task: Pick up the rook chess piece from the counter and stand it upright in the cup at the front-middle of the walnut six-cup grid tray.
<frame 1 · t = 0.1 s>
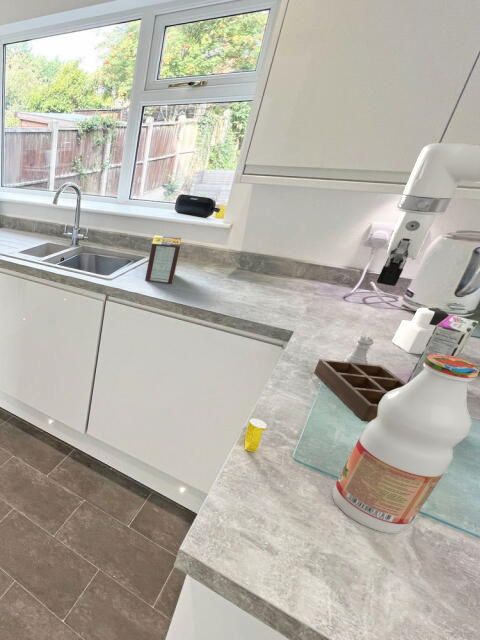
hand: (387, 279, 97), 24 cm above the table, tool pointing down, fingers open, 9 cm apart
medicine bottle: (413, 349, 117), on the table
grid: (368, 398, 95), on the table
candy bar box: (424, 383, 101), on the table
rook chess piece: (353, 365, 109), on the table
protein box: (159, 277, 173), on the table
fruit juice: (366, 510, 67), on the table
yellow pill bottle: (248, 447, 81), on the table
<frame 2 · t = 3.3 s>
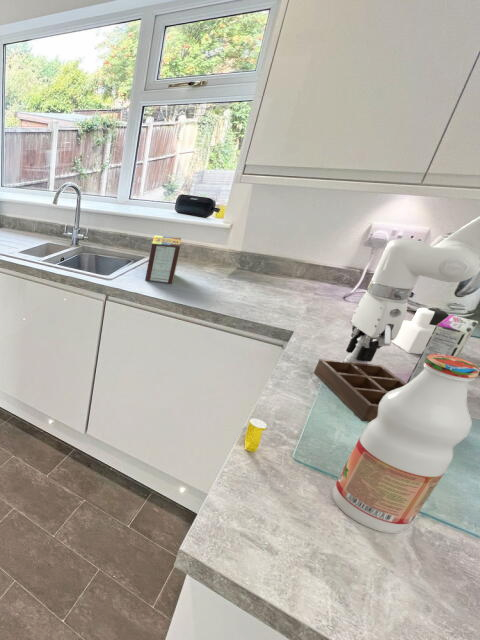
hand: (358, 355, 108), 3 cm above the table, tool pointing down, fingers closed on rook chess piece, 3 cm apart
rook chess piece: (353, 365, 109), on the table, touching gripper
everything else where it was.
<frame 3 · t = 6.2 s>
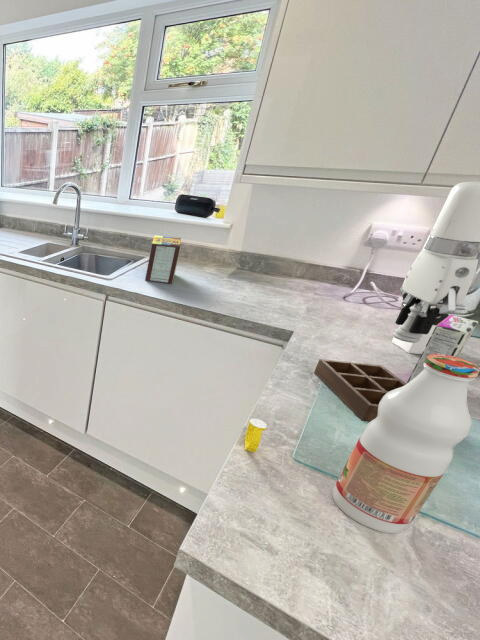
hand: (411, 328, 91), 17 cm above the table, tool pointing down, fingers closed on rook chess piece, 3 cm apart
rook chess piece: (405, 339, 92), point 14 cm above the table, touching gripper
everything else where it was.
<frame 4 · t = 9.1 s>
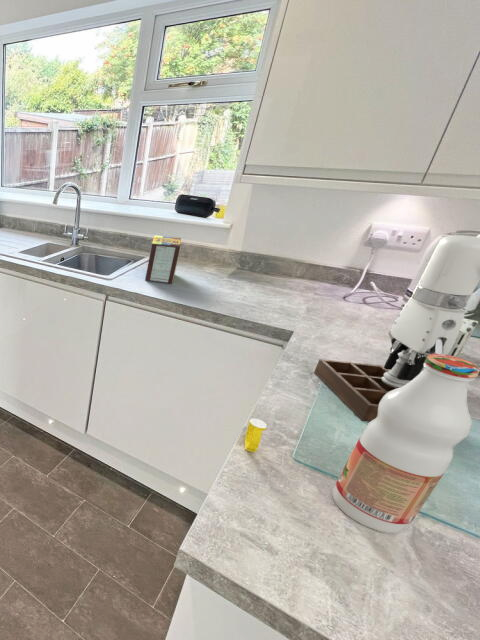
hand: (399, 373, 92), 7 cm above the table, tool pointing down, fingers closed on rook chess piece, 3 cm apart
rook chess piece: (393, 384, 93), point 4 cm above the table, touching gripper
everything else where it was.
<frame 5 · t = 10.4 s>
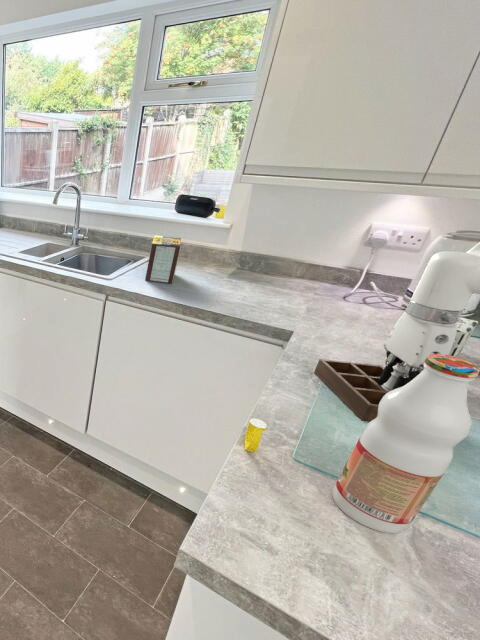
hand: (394, 386, 93), 4 cm above the table, tool pointing down, fingers closed on rook chess piece, 3 cm apart
rook chess piece: (388, 396, 94), point 1 cm above the table, touching gripper
everything else where it was.
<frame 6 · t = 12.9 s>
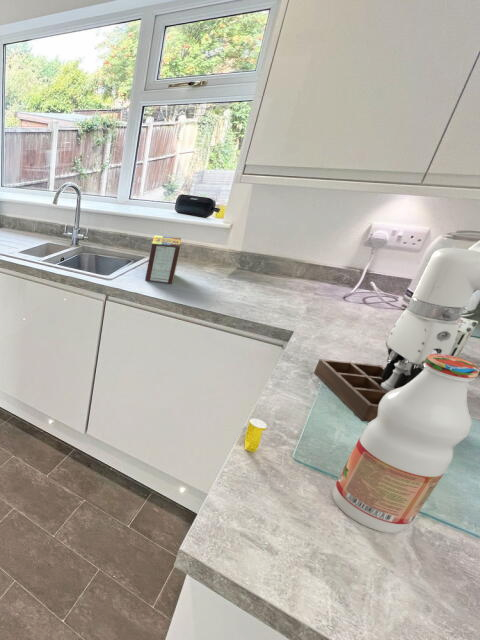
hand: (396, 383, 93), 5 cm above the table, tool pointing down, fingers closed on rook chess piece, 3 cm apart
rook chess piece: (390, 394, 94), point 2 cm above the table, touching gripper
everything else where it was.
when the fingers open (5 cm above the table, at t = 15.1 s): rook chess piece drops 1 cm, resting on grid.
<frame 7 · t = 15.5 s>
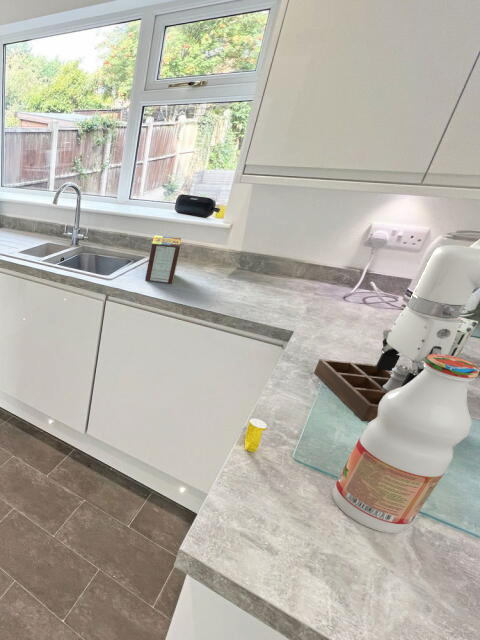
hand: (396, 378, 92), 6 cm above the table, tool pointing down, fingers open, 7 cm apart
rook chess piece: (387, 398, 94), point 1 cm above the table, touching grid
everything else where it was.
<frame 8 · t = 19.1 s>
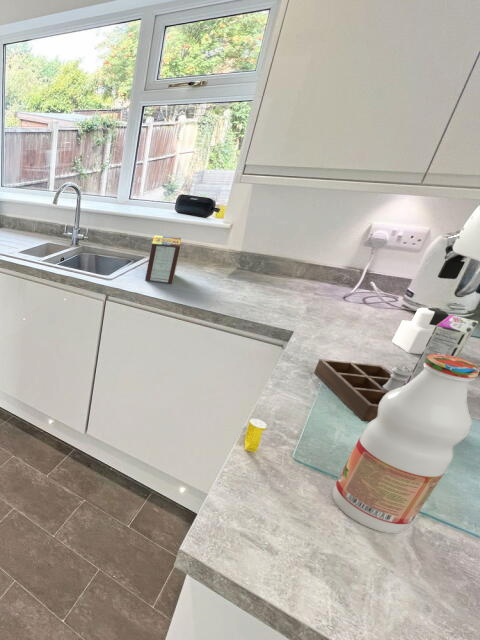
hand: (464, 285, 88), 26 cm above the table, tool pointing down, fingers open, 9 cm apart
nothing on the table moved.
at the end: rook chess piece 0.3 cm from the target spot in the grid, point 0.6 cm above the grid's base; rook chess piece tilted 0°; the gripper is holding nothing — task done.
